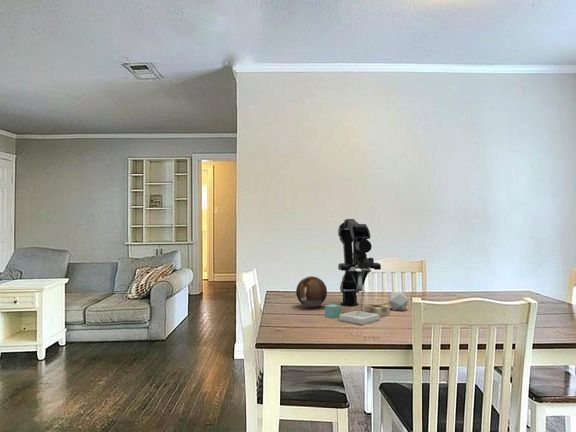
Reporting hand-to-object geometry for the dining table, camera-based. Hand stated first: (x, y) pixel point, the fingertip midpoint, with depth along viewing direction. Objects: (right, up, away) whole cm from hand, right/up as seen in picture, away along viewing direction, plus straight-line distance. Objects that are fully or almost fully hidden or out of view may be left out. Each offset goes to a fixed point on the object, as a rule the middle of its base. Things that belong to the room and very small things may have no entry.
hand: (359, 285), depth 216 cm
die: (+20, -13, +8) cm, 25 cm away
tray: (-2, -13, -14) cm, 19 cm away
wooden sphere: (-21, -13, +15) cm, 29 cm away
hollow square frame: (+7, -13, -4) cm, 15 cm away
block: (-13, -13, -6) cm, 19 cm away
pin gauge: (0, -3, 0) cm, 2 cm away
